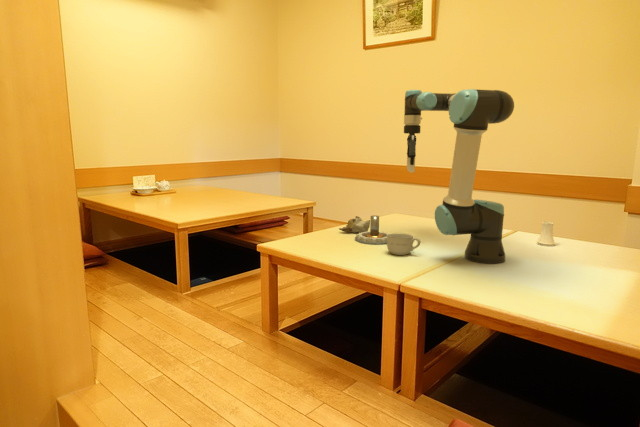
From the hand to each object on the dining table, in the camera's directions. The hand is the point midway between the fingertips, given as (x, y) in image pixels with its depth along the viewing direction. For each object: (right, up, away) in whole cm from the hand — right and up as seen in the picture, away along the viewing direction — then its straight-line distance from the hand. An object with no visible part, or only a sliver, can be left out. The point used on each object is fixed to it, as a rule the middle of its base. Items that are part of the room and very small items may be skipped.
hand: (410, 171), depth 206 cm
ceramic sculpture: (-24, -30, +15) cm, 41 cm away
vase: (+59, -34, -8) cm, 69 cm away
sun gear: (-17, -32, -1) cm, 36 cm away
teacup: (-8, -37, -25) cm, 45 cm away
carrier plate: (-17, -32, -1) cm, 37 cm away
